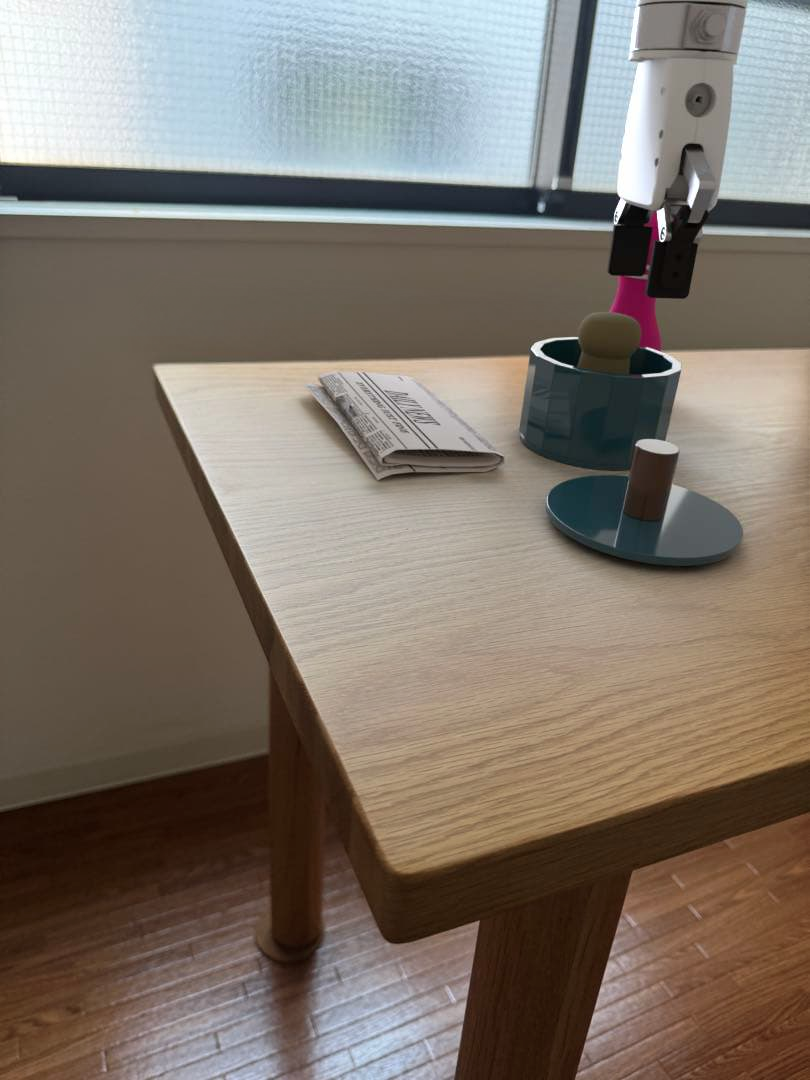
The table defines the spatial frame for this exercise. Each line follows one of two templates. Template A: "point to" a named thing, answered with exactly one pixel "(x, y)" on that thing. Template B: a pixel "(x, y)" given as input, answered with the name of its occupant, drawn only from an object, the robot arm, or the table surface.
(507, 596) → the table surface
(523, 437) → the tin
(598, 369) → the olive brown pawn
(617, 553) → the tin lid
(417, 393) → the newspaper
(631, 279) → the pepper mill
